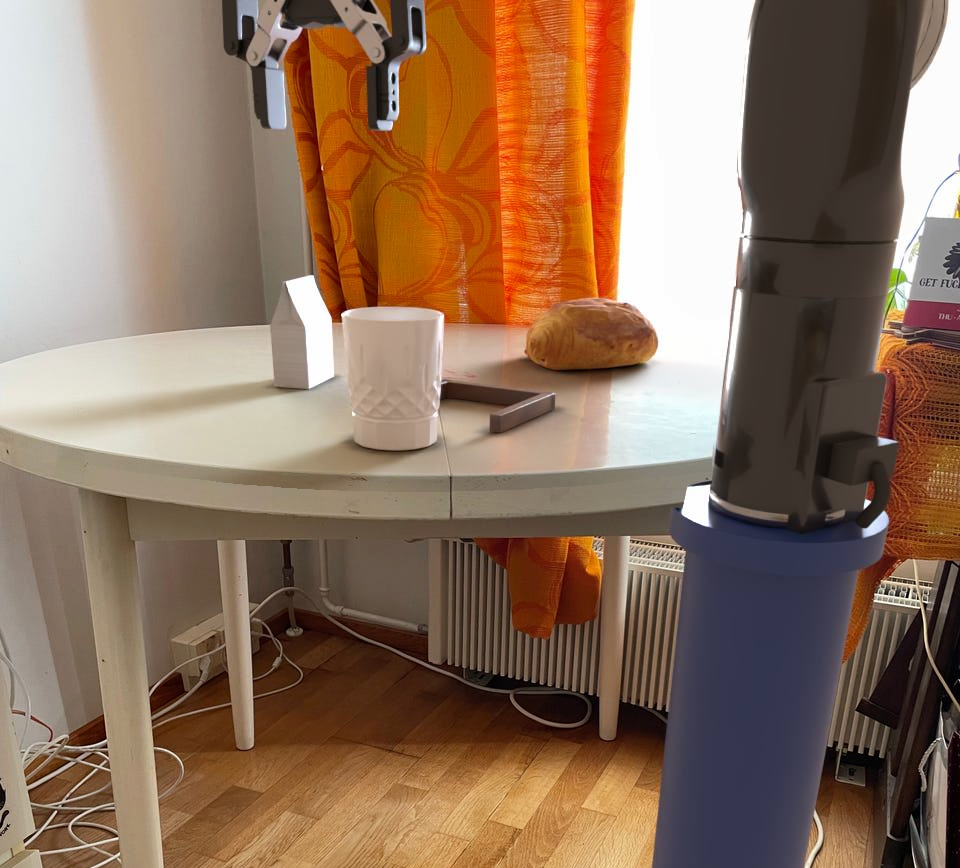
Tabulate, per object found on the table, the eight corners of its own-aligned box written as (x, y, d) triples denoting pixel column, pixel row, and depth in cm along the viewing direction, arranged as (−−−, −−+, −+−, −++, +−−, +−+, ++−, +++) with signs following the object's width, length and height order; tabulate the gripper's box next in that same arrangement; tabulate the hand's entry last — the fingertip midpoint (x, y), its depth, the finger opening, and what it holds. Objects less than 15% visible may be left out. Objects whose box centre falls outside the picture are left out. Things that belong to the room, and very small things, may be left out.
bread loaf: (670, 388, 115) (687, 315, 112) (545, 375, 109) (559, 297, 106) (613, 362, 127) (627, 295, 124) (497, 349, 121) (509, 279, 118)
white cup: (420, 457, 79) (419, 323, 74) (329, 447, 81) (323, 316, 77) (458, 434, 85) (459, 310, 81) (372, 425, 88) (369, 304, 84)
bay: (499, 433, 86) (500, 415, 85) (381, 415, 91) (380, 399, 91) (554, 409, 95) (555, 392, 94) (443, 394, 100) (443, 378, 99)
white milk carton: (333, 376, 107) (329, 276, 103) (308, 388, 101) (303, 282, 97) (301, 374, 108) (295, 274, 104) (274, 386, 102) (267, 281, 98)
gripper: (181, -167, 63) (207, 128, 70) (385, -193, 58) (391, 128, 65) (253, -137, 69) (270, 131, 76) (443, -157, 64) (443, 132, 71)
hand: (326, 129), depth 70 cm, fingers open, 8 cm apart
